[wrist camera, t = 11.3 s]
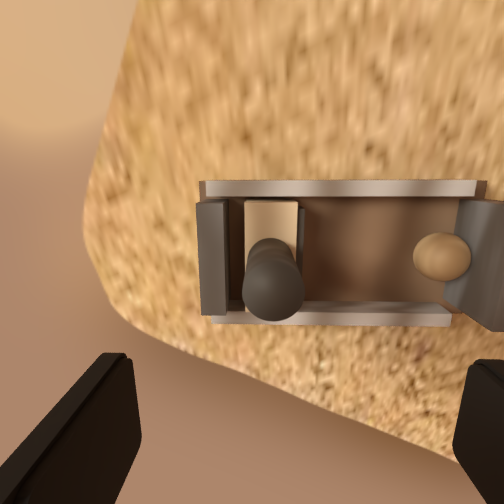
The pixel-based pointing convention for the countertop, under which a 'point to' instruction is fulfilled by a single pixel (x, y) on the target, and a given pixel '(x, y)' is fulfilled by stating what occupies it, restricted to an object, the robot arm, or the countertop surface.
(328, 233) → the base
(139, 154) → the countertop surface
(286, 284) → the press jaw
